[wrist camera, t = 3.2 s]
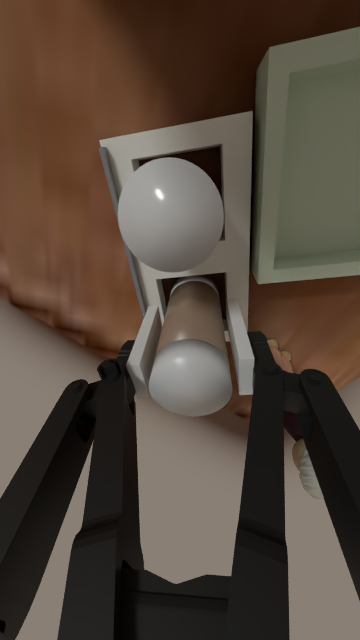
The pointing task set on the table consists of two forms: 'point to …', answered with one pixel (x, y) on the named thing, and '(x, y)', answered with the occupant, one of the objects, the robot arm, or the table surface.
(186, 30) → the table surface
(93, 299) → the table surface
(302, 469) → the grandmother figurine
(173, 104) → the table surface
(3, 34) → the table surface
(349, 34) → the parts tray
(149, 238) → the fuse
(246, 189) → the white flat frame
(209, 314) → the white and tan cylinder
